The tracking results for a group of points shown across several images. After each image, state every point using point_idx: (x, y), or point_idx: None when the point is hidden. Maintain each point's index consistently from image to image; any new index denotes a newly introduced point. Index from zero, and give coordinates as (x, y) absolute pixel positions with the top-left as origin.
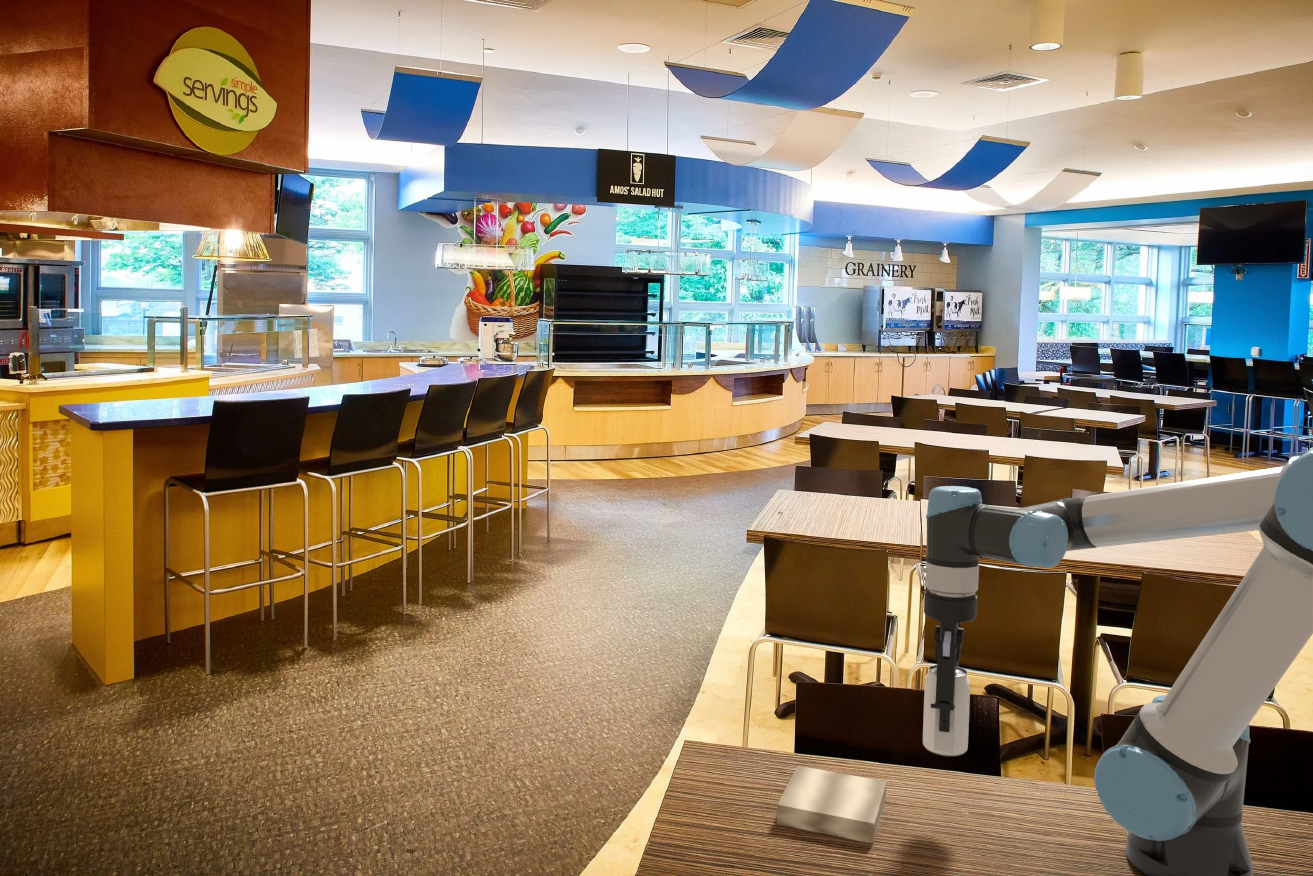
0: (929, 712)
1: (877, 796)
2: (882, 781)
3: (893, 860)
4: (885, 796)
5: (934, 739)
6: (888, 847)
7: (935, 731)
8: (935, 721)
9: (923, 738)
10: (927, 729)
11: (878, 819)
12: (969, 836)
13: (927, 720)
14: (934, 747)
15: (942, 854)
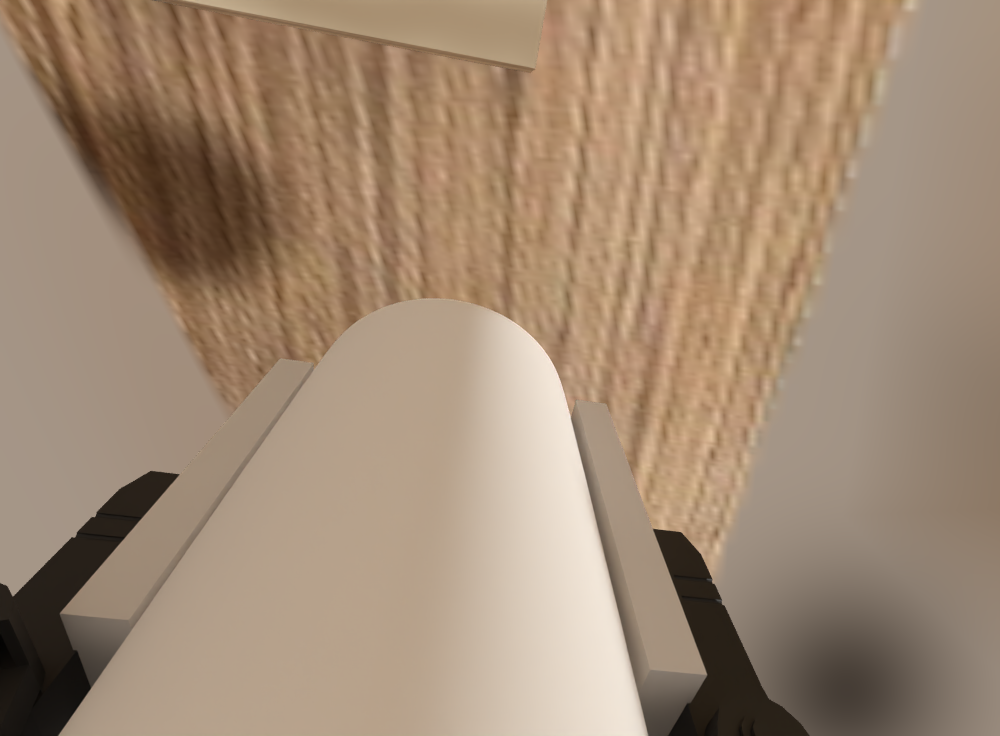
0: (245, 484)
1: (361, 8)
2: (531, 44)
3: (68, 83)
4: (516, 68)
5: (250, 396)
6: (150, 67)
7: (217, 437)
8: (168, 492)
9: (405, 314)
10: (324, 375)
11: (277, 22)
12: None
13: (304, 414)
14: (270, 370)
15: (204, 259)
